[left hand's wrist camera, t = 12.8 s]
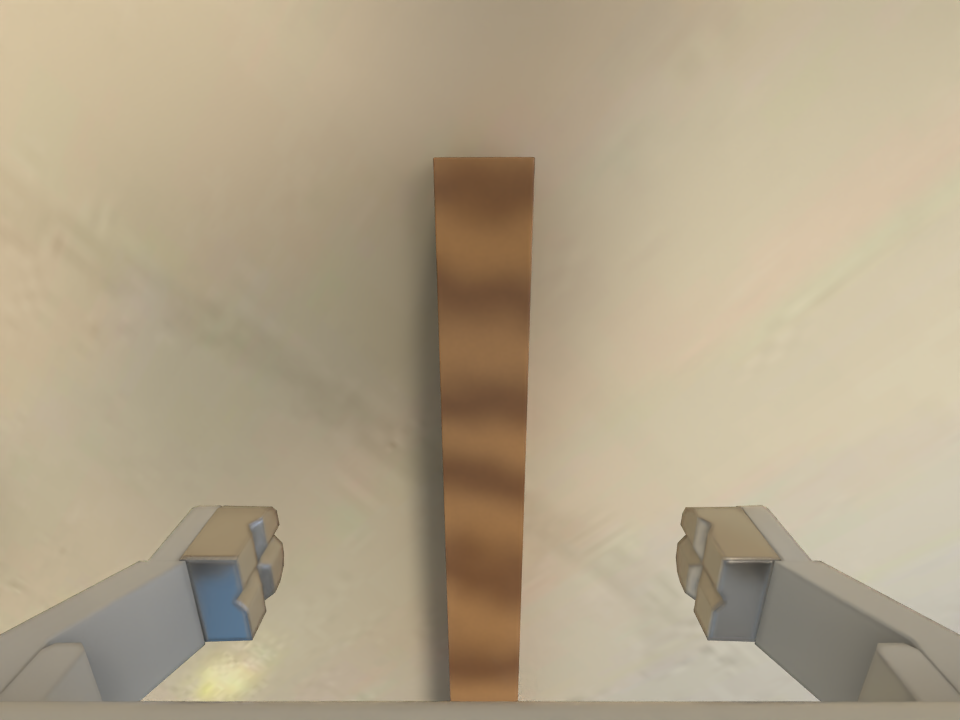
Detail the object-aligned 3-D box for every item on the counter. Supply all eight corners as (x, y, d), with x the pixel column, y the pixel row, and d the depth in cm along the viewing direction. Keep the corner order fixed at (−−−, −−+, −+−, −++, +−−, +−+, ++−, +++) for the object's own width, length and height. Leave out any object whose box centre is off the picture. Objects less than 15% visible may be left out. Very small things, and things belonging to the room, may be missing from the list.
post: (444, 158, 30) (433, 157, 23) (521, 157, 30) (535, 157, 23) (461, 864, 54) (458, 974, 47) (505, 864, 54) (509, 974, 47)
